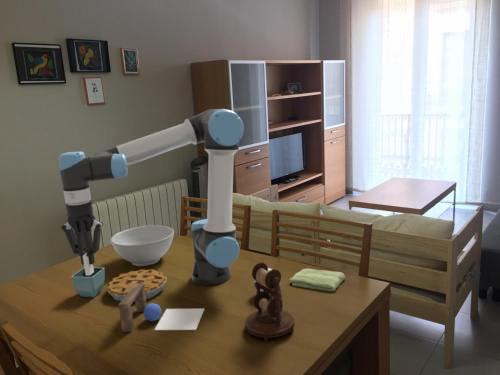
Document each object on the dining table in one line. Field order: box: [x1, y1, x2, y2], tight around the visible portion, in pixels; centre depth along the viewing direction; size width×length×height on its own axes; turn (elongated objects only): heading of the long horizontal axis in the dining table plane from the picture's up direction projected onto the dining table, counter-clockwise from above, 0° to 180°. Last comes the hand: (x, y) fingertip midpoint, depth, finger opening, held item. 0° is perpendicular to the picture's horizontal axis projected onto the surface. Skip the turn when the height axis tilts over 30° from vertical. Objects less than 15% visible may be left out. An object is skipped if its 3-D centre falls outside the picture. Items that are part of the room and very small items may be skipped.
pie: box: [106, 268, 168, 302], centre depth 164 cm, size 22×22×5 cm
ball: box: [143, 302, 162, 322], centre depth 140 cm, size 6×6×6 cm
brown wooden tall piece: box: [244, 262, 295, 342], centre depth 129 cm, size 15×15×20 cm
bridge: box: [118, 284, 148, 333], centre depth 141 cm, size 3×14×9 cm, turn 174°
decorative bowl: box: [110, 224, 175, 267], centre depth 192 cm, size 27×27×12 cm
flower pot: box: [71, 266, 106, 298], centre depth 162 cm, size 9×9×9 cm
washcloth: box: [288, 268, 346, 292], centre depth 160 cm, size 13×18×3 cm
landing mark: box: [154, 308, 205, 331], centre depth 140 cm, size 13×13×1 cm
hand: (89, 273), depth 140 cm, fingers closed
